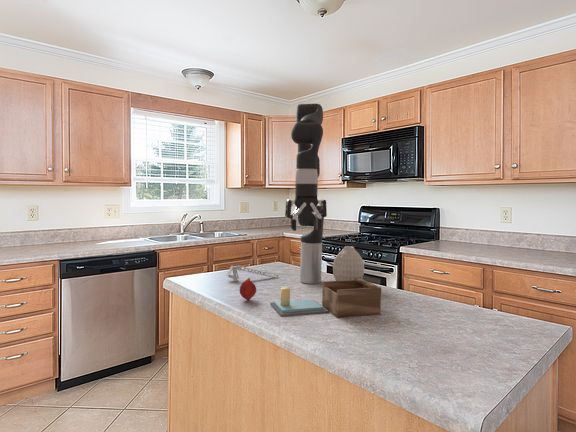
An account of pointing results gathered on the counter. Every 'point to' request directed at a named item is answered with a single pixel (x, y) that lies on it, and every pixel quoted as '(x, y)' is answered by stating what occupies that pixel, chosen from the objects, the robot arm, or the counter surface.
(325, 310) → the mat
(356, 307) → the box
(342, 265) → the vase
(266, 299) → the counter surface
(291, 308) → the thin pale-blue panel
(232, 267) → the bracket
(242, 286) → the red oval lump
